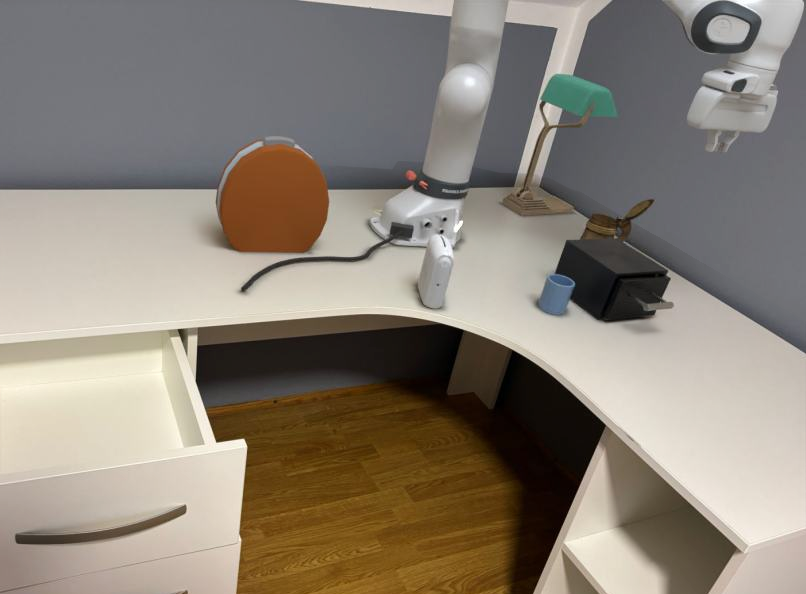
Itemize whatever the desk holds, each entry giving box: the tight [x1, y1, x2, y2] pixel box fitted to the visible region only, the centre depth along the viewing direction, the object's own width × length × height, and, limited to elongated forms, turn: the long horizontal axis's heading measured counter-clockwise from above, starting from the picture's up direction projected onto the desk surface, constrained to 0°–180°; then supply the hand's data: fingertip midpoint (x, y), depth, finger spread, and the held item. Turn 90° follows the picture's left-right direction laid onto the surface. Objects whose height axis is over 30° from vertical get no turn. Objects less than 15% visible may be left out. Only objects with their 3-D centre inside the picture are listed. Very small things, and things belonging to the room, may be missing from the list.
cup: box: [537, 273, 575, 316], centre depth 143 cm, size 6×6×6 cm
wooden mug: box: [579, 198, 655, 243], centre depth 165 cm, size 9×14×18 cm, turn 77°
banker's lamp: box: [501, 73, 619, 217], centre depth 190 cm, size 16×21×35 cm
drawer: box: [604, 274, 675, 321], centre depth 146 cm, size 20×13×9 cm
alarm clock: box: [215, 135, 330, 254], centre depth 143 cm, size 22×10×23 cm, turn 108°
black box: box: [554, 237, 669, 320], centre depth 150 cm, size 16×15×11 cm
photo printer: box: [417, 234, 455, 309], centre depth 137 cm, size 10×4×12 cm, turn 3°
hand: (715, 151), depth 142 cm, fingers closed
